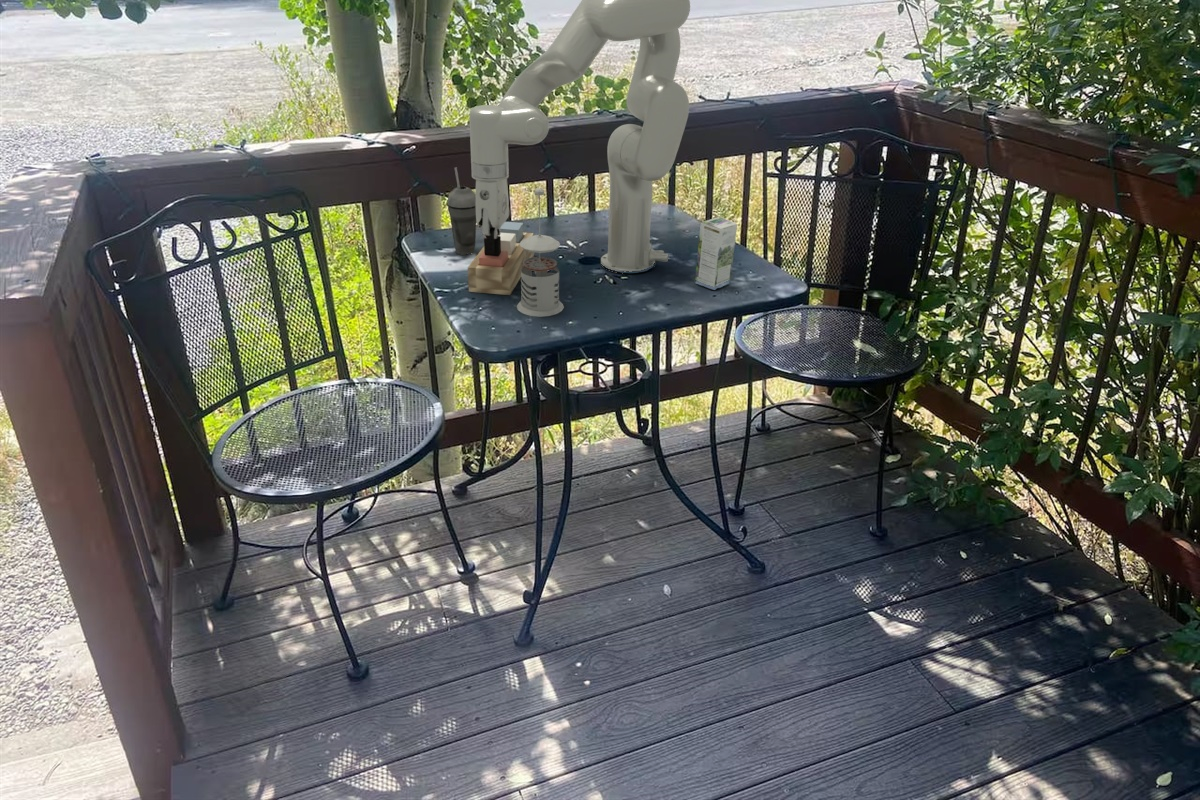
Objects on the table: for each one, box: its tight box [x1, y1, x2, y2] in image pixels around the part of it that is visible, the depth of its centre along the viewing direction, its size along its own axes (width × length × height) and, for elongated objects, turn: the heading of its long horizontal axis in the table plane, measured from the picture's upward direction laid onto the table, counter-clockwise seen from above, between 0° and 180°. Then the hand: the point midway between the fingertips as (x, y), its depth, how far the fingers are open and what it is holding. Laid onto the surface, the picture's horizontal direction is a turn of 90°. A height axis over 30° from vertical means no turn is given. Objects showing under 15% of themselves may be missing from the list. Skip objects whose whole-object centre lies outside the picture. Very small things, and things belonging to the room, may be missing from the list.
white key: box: [500, 233, 516, 255], centre depth 196 cm, size 5×5×4 cm
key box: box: [467, 231, 535, 296], centre depth 198 cm, size 9×24×6 cm, turn 171°
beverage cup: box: [446, 167, 477, 256], centre depth 205 cm, size 7×7×20 cm
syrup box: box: [694, 216, 738, 287], centre depth 193 cm, size 6×6×14 cm
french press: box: [516, 187, 565, 318], centre depth 179 cm, size 10×12×25 cm
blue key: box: [500, 221, 524, 243], centre depth 203 cm, size 5×5×4 cm
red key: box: [479, 251, 508, 267], centre depth 191 cm, size 5×5×4 cm
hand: (492, 254), depth 190 cm, fingers closed
